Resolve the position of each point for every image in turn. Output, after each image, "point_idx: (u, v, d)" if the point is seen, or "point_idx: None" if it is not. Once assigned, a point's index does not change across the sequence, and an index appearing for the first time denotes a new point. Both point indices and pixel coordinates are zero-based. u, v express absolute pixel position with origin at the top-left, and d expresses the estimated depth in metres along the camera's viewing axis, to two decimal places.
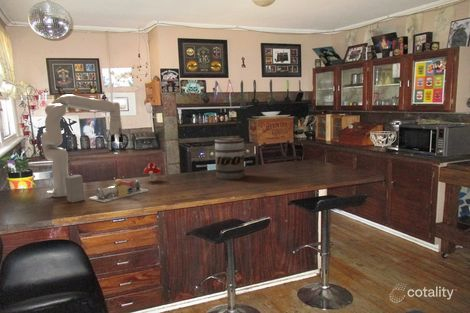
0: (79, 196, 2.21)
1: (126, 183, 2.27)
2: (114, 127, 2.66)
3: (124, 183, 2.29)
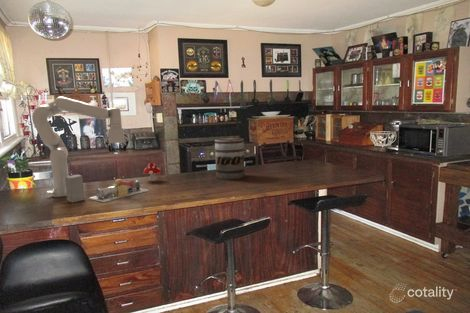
0: (79, 196, 2.21)
1: (126, 183, 2.27)
2: (119, 135, 2.44)
3: (124, 183, 2.29)
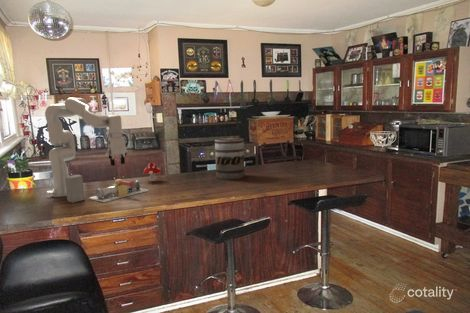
0: (79, 196, 2.21)
1: (126, 183, 2.27)
2: (122, 145, 2.20)
3: (124, 183, 2.29)
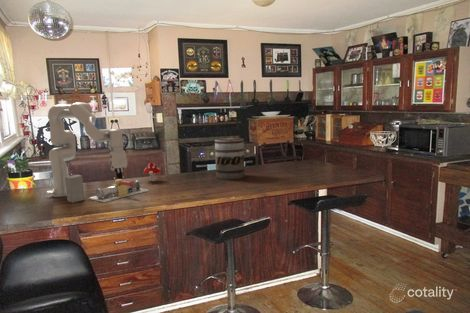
0: (79, 196, 2.21)
1: (126, 183, 2.27)
2: (123, 158, 2.21)
3: (124, 183, 2.29)
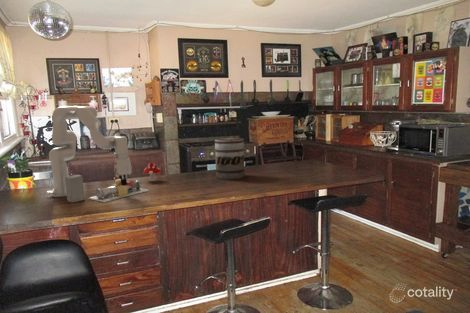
0: (79, 196, 2.21)
1: None
2: (128, 165, 2.25)
3: None
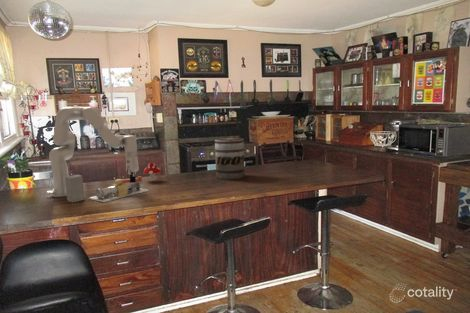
0: (79, 196, 2.21)
1: None
2: (137, 163, 2.35)
3: None
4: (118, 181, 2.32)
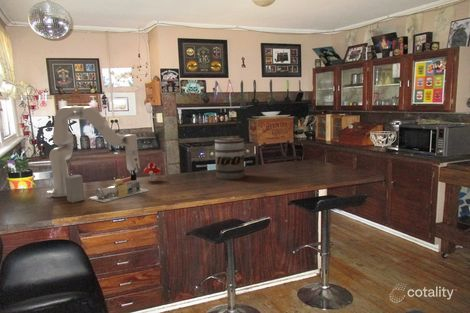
0: (79, 196, 2.21)
1: (129, 179, 2.42)
2: None
3: (127, 179, 2.40)
4: (120, 181, 2.32)
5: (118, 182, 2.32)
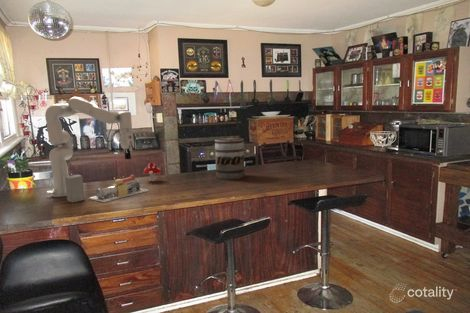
0: (79, 196, 2.21)
1: (129, 179, 2.42)
2: None
3: (127, 179, 2.40)
4: (120, 181, 2.32)
5: (118, 182, 2.32)
